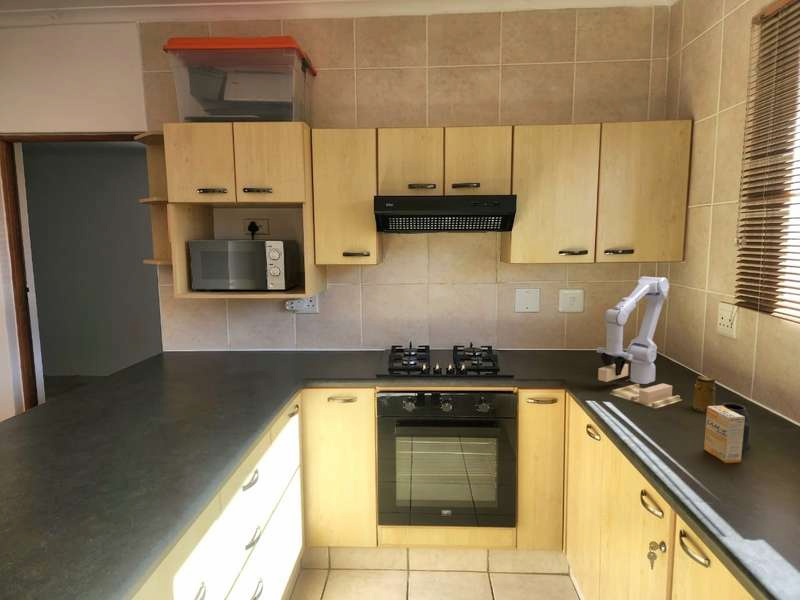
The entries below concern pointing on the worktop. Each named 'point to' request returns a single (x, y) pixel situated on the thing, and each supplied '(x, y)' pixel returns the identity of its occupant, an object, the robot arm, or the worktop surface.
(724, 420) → the supplement box
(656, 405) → the rack
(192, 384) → the worktop surface
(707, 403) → the condiment
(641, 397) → the clay bar
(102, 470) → the worktop surface
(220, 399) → the worktop surface
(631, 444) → the worktop surface
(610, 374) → the clay bar
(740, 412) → the mug
